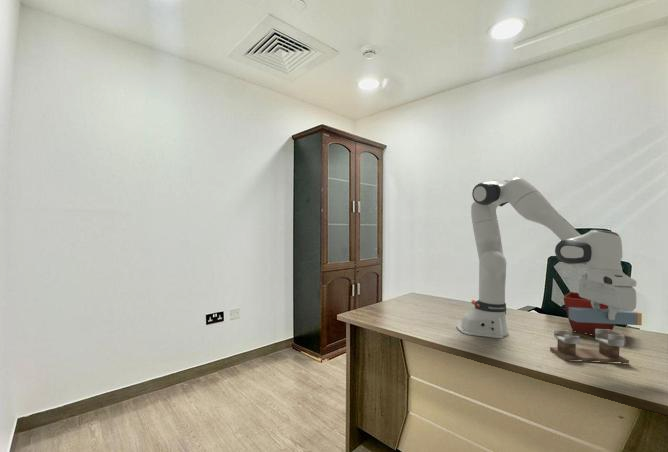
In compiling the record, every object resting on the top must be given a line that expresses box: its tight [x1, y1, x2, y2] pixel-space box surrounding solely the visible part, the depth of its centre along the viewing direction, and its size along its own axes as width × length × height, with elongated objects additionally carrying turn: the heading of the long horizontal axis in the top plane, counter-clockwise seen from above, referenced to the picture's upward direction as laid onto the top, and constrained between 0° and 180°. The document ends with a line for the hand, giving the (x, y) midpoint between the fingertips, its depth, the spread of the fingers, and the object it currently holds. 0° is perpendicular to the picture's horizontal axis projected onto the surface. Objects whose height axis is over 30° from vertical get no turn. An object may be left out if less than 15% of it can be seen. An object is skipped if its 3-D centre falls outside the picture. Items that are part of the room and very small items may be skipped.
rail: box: [568, 307, 643, 326], centre depth 101 cm, size 20×4×4 cm, turn 84°
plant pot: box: [563, 291, 619, 336], centre depth 141 cm, size 19×19×17 cm
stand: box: [549, 329, 630, 364], centre depth 112 cm, size 22×9×10 cm, turn 83°
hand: (603, 316), depth 101 cm, fingers closed on rail, 4 cm apart
